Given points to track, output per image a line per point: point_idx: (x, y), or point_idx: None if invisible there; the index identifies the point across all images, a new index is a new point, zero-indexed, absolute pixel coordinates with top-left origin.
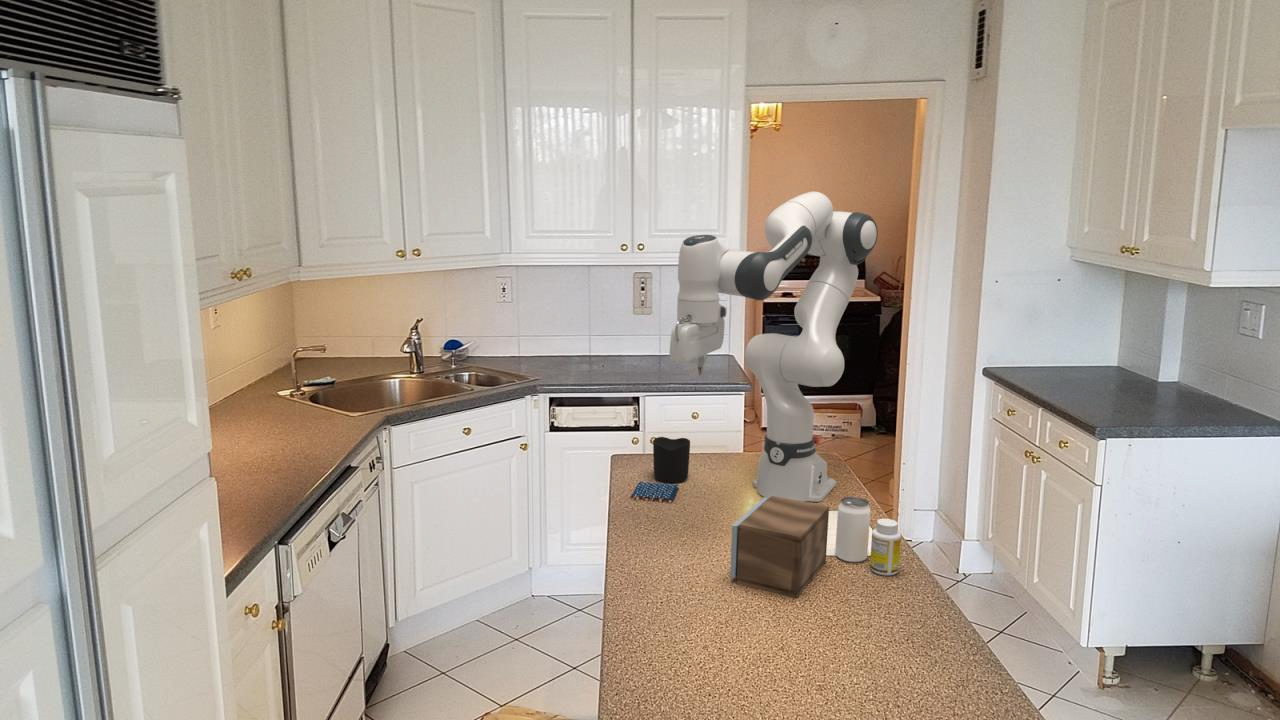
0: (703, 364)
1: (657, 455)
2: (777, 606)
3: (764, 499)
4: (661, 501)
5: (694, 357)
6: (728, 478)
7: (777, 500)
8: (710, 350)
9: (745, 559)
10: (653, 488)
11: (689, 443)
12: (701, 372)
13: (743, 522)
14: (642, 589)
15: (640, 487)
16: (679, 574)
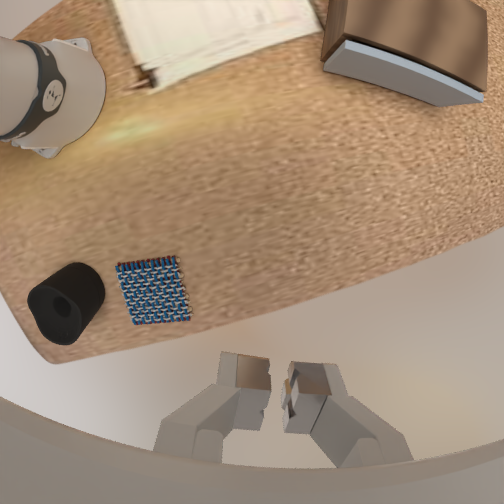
0: (228, 400)
1: (87, 324)
2: None
3: (357, 46)
4: (182, 273)
5: (501, 449)
6: (42, 203)
7: (366, 22)
8: (129, 463)
9: None
10: (151, 298)
11: (44, 285)
12: (258, 365)
13: (478, 84)
14: (473, 209)
15: (152, 317)
16: (434, 174)
